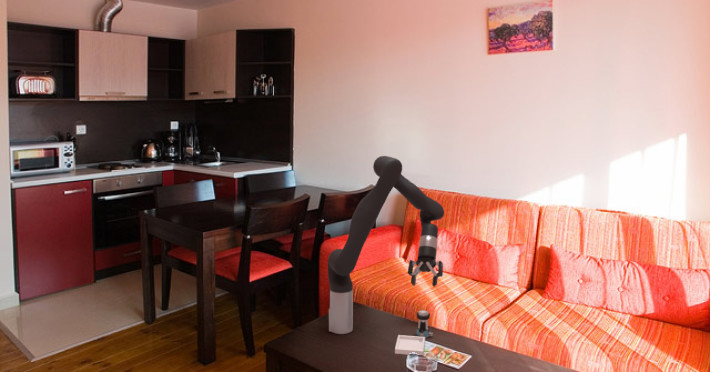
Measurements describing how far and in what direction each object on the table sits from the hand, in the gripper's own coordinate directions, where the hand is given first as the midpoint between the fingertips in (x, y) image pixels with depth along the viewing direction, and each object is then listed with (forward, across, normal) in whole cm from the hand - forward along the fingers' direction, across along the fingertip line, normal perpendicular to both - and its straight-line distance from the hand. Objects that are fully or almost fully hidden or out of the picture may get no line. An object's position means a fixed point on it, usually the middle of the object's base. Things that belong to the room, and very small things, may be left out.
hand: (423, 285), depth 218 cm
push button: (+19, +1, +6) cm, 20 cm away
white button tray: (+26, -1, -4) cm, 26 cm away
